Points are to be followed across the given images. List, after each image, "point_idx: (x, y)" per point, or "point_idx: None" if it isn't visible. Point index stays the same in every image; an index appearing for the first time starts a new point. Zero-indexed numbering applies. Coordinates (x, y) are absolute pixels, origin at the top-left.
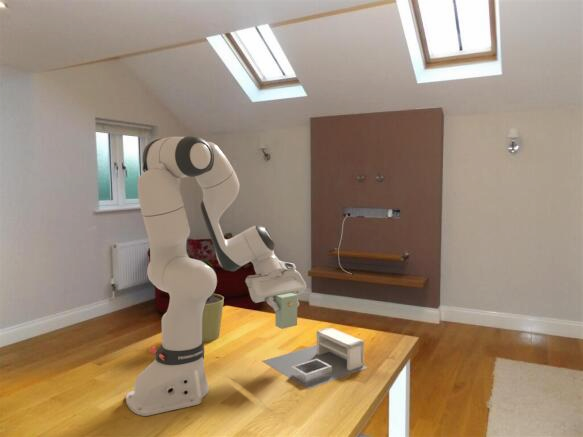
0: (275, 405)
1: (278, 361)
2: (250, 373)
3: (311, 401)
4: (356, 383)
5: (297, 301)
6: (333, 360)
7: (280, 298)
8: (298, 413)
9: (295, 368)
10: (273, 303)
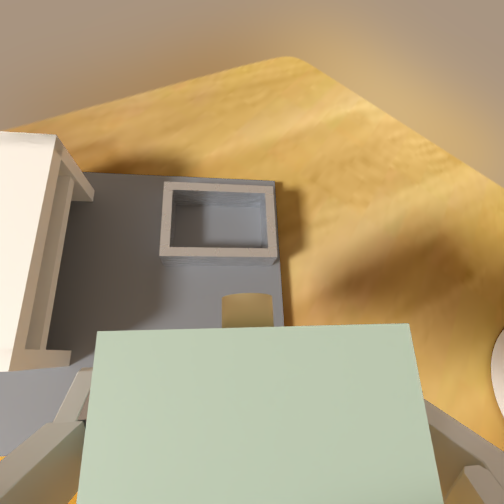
0: (367, 191)
1: None
2: None
3: (288, 157)
4: (132, 150)
5: (81, 394)
6: (70, 275)
7: (404, 365)
8: (339, 141)
9: (273, 237)
10: (440, 413)
